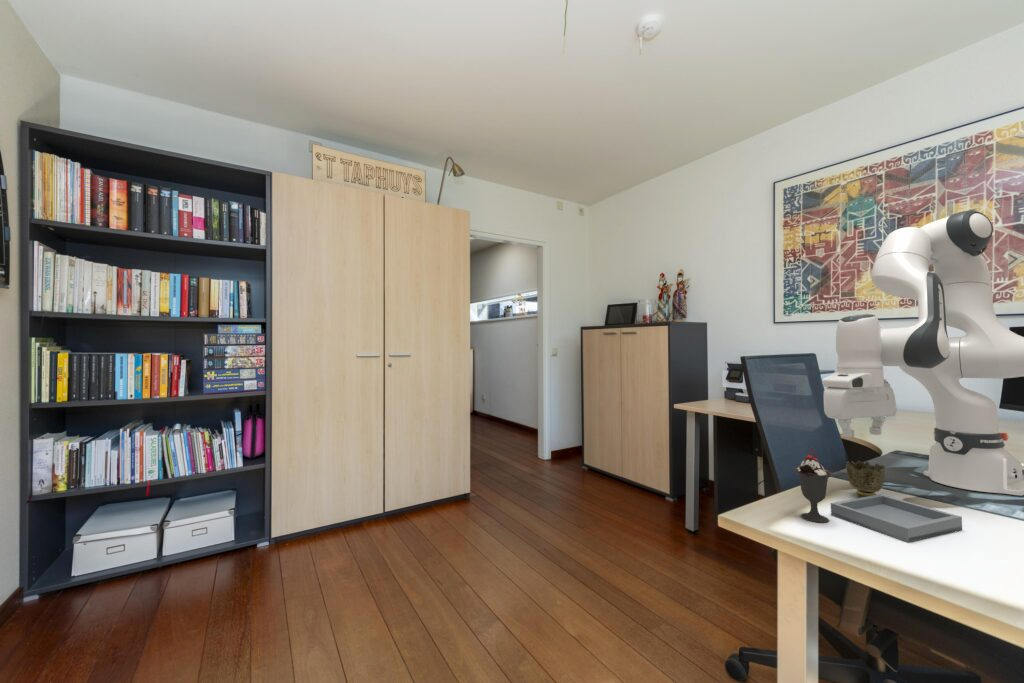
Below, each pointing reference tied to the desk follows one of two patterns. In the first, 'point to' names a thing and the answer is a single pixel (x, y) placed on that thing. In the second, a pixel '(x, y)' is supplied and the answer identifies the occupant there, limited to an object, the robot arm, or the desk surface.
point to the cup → (865, 477)
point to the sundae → (813, 486)
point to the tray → (897, 517)
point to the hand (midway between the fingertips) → (862, 435)
